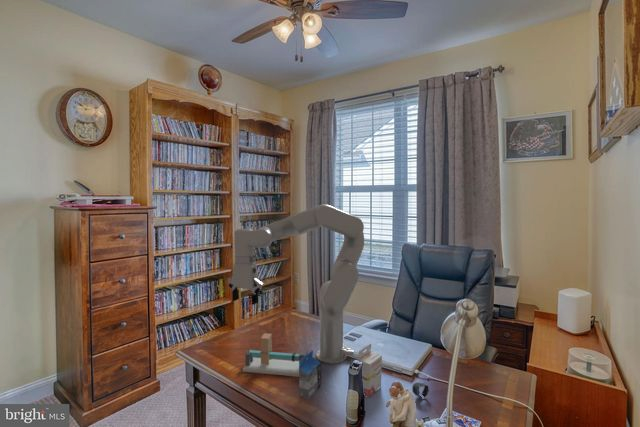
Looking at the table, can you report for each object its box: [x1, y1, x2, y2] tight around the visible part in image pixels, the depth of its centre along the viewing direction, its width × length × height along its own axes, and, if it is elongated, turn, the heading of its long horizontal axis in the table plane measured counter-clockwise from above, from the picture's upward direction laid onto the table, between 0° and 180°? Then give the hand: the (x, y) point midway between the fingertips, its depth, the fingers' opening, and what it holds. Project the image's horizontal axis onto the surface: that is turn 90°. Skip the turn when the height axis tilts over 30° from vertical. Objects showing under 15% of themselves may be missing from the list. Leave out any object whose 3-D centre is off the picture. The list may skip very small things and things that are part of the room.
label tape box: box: [298, 350, 322, 400], centre depth 112 cm, size 9×4×12 cm, turn 151°
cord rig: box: [242, 349, 309, 377], centre depth 127 cm, size 24×9×7 cm, turn 81°
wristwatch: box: [412, 382, 430, 399], centre depth 108 cm, size 3×5×5 cm, turn 103°
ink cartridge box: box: [357, 343, 383, 398], centre depth 113 cm, size 9×5×15 cm, turn 141°
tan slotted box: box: [260, 332, 273, 365], centre depth 128 cm, size 3×4×10 cm
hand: (245, 301), depth 132 cm, fingers open, 9 cm apart
